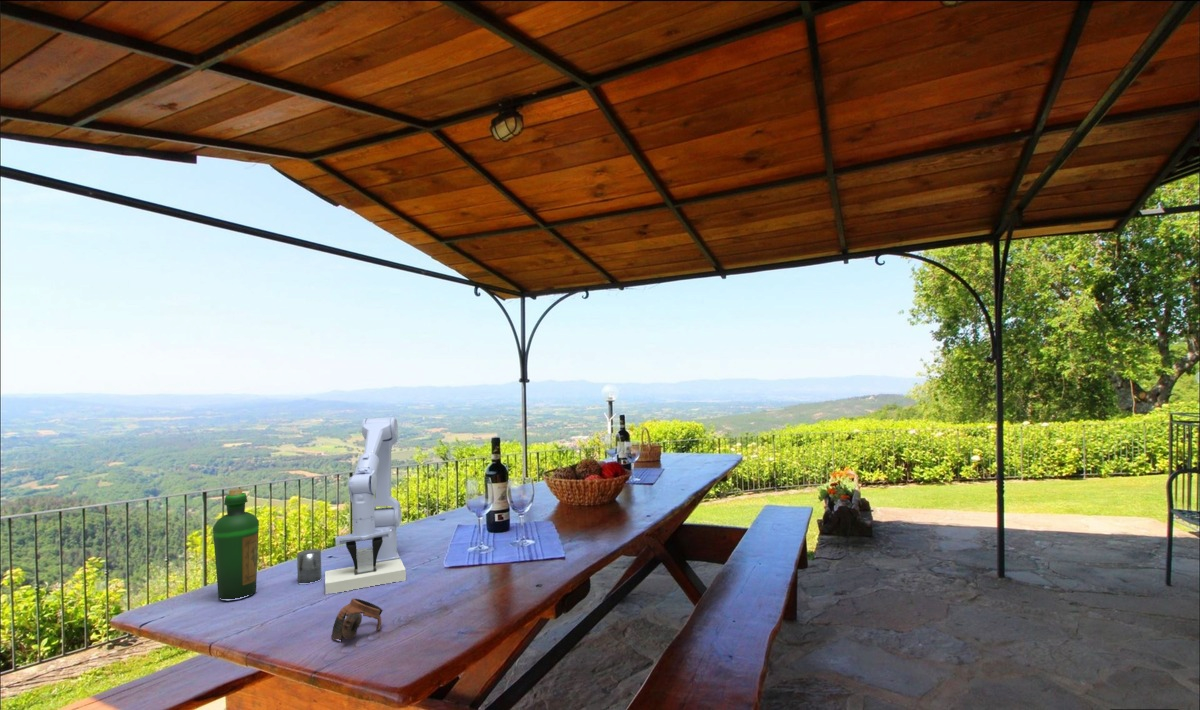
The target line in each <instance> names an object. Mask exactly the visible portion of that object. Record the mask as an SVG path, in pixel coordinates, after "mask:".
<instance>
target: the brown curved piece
mask: <svg viewBox="0 0 1200 710" xmlns="http://www.w3.org/2000/svg"><path fill="white" fill-rule="evenodd" d="M383 611H384V610H383V609H382V608H381V607H379V606H378V605H376V604H373V603H372V602H369V601H366V600H364V599H360V598H351V599H350V602H349V603H348V604H346V605H344V606H343V607H342V608H341V609H340V611H338V614H337V615H336V618H335V620H334V622H333V626H332V631H331V635H330V636H331V638H332V639H333V638H334V639H339V640H341V639H342V640H343V638H344V639H346V640H351V639H355V637H356V635H357V631H358V629H359V627H360V625H361V623H362V621H363V620H362V618H363V617H368V618H369V619H370V618H372V619H375V620H377V626H376V631H377V632H379V631H380V628H381V625H382V617H381V616H382V615H381V614H382V613H383ZM362 615H363V616H362ZM378 630H379V631H378ZM334 639H333V640H334Z"/></svg>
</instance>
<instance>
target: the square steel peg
mask: <svg viewBox="0 0 1200 710" xmlns="http://www.w3.org/2000/svg"><path fill="white" fill-rule="evenodd" d="M356 555H357V575H358V574H364V573H370V572H373V547H372V546H369V547H362V548H356Z"/></svg>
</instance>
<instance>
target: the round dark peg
mask: <svg viewBox="0 0 1200 710" xmlns="http://www.w3.org/2000/svg"><path fill="white" fill-rule="evenodd" d="M296 559H297V560H296V561H297V562H296V565H297V570H296V573H297V584H298V583H310V582H315V581H318V580H320V579H321V578H322V549H319V548H312V549H311V548H310V549H306V550H302V551H299V552H298V553H296ZM321 580H322V579H321ZM321 580H320V581H321ZM318 582H319V581H318Z"/></svg>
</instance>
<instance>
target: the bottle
mask: <svg viewBox="0 0 1200 710" xmlns="http://www.w3.org/2000/svg"><path fill="white" fill-rule="evenodd" d="M243 490H244V489H243V488H242V487H241V488H233V489H228V494H226V495H225V498H224V502H223V503H224V504H223V505H224V506H226V514H224V515H222V516H221V517H220V518H219V519H217V521H216V522H215V523H214V525H213V527H212V534H213V546H214V547H213V548H214V559H215V572H216V584H217V585H216V586H217V592H218V593H217V595H218V596H217V597H218V599H219V598H221V599H235V598H240V597H244V596H247V595H251V594H252V595H254V594H255V593H257V580H258V579H257V578H258V553H259V528H260V525H259V524H260V520H259V519H258V518H257V516H256V515H254V514H253V513H250V512H249V511H245V509H246V504H247V503H248V502H249V501H248V497H247V492H243ZM253 593H254V594H253ZM252 595H251V596H252Z"/></svg>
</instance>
